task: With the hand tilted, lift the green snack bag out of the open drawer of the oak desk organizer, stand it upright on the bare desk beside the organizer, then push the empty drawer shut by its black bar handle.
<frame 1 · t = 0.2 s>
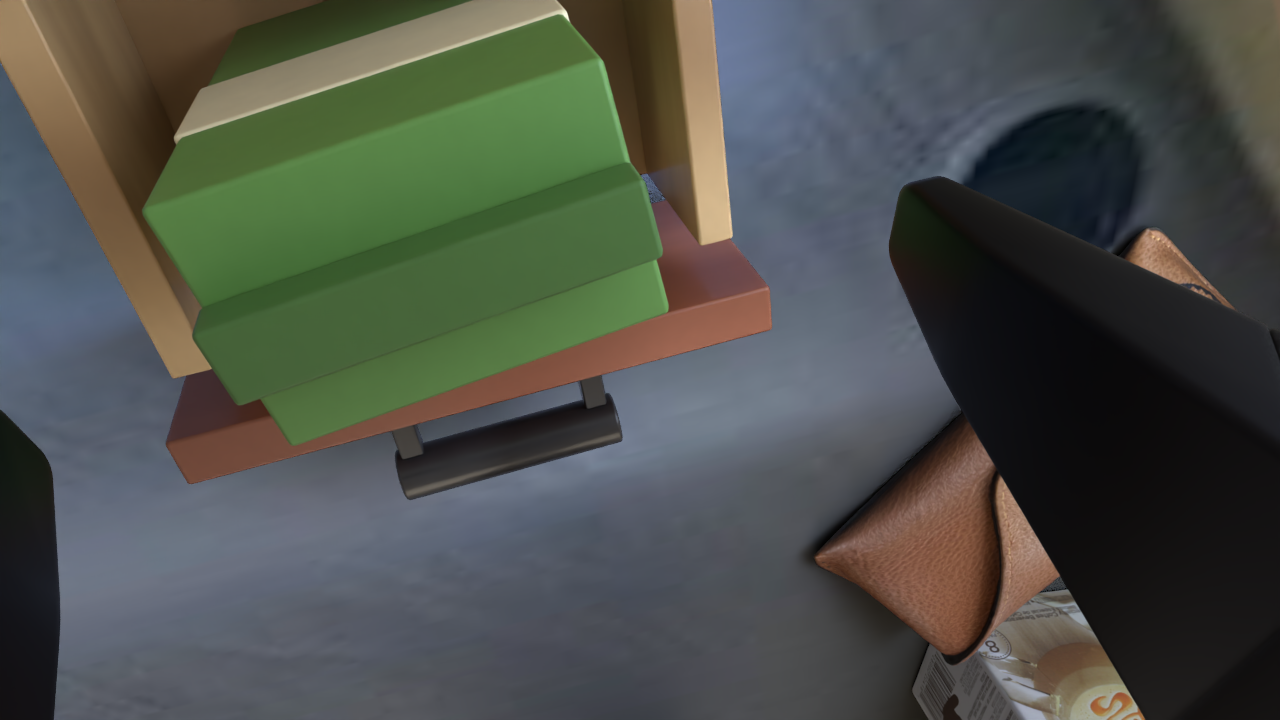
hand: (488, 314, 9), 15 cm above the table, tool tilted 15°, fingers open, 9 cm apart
sunglasses case: (1012, 437, 35), on the table
coffee box: (1002, 633, 43), on the table
drawer: (441, 207, 20), point 4 cm above the table, slide at 9.0 cm, touching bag
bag: (406, 75, 20), point 2 cm above the table, touching drawer
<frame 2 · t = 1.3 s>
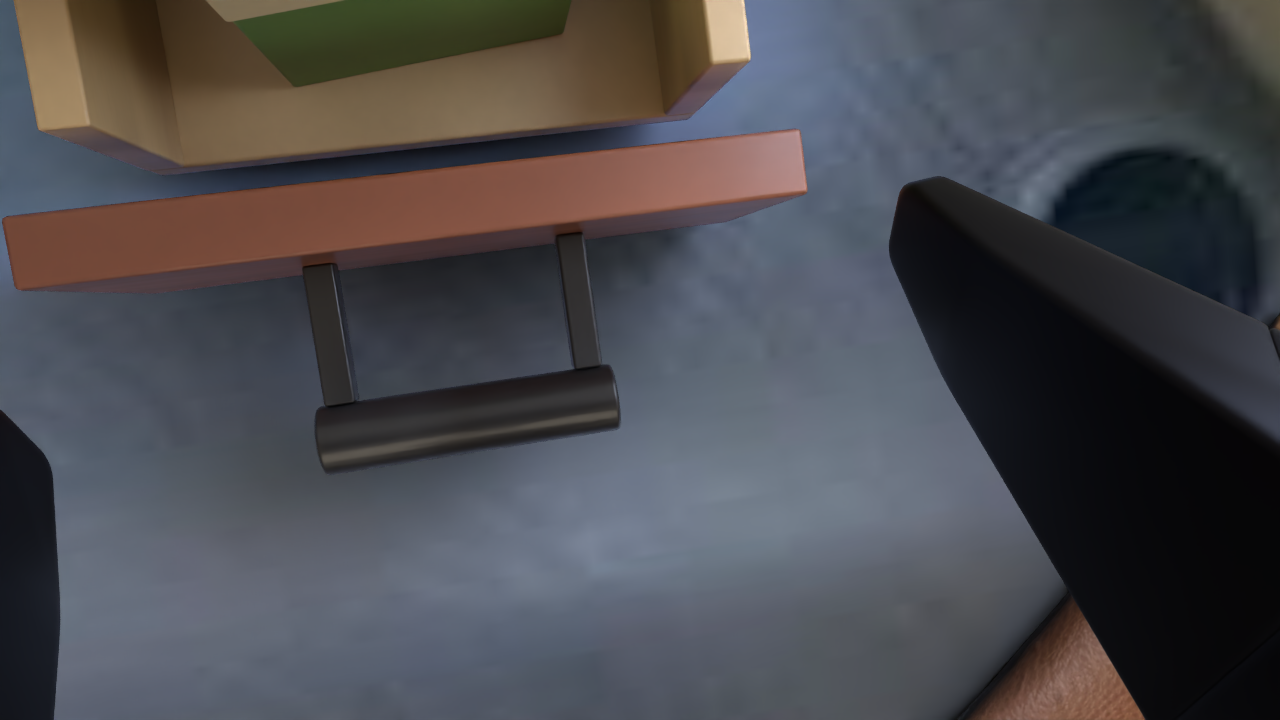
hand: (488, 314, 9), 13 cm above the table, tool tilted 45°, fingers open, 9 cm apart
sunglasses case: (1176, 617, 26), on the table
drawer: (419, 66, 18), point 4 cm above the table, slide at 9.0 cm, touching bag
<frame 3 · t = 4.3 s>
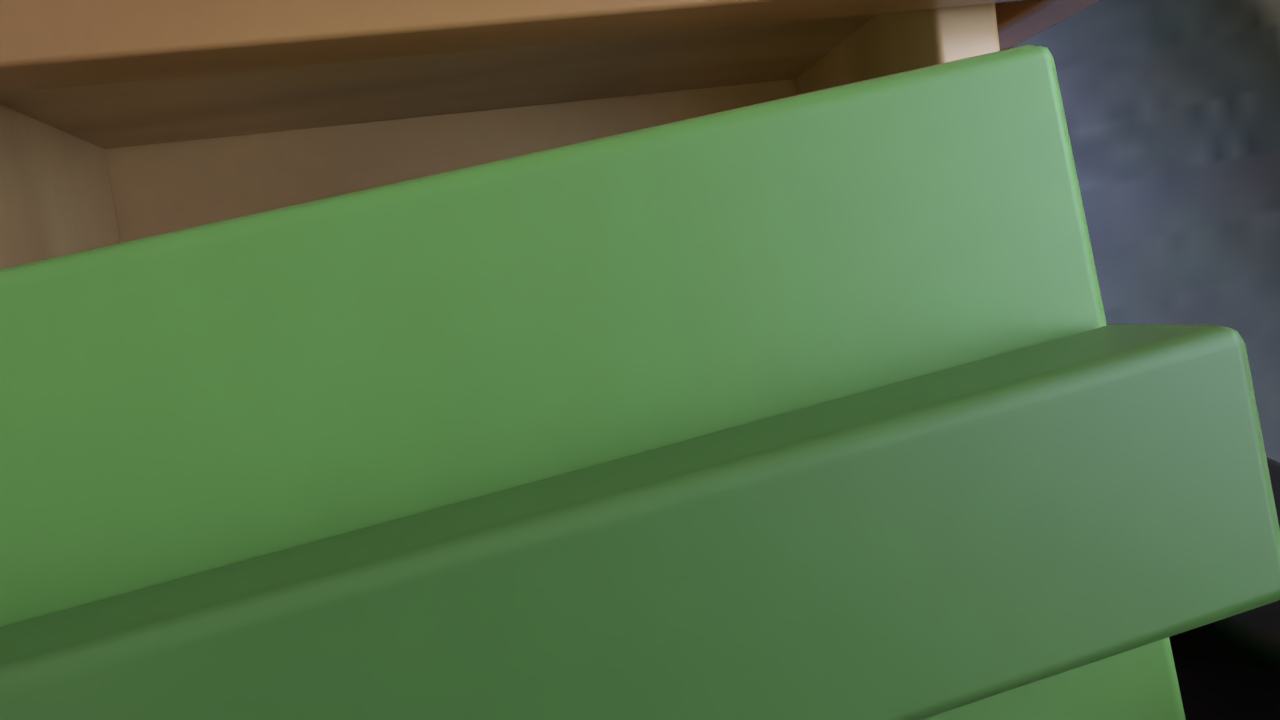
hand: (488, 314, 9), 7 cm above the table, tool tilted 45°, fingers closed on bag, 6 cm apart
drawer: (542, 598, 12), point 4 cm above the table, slide at 9.0 cm, touching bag
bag: (512, 403, 14), point 2 cm above the table, touching drawer, gripper
when the fingers open (5 cm above the table, at t = 11.5 s): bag stays where it is, on the table.
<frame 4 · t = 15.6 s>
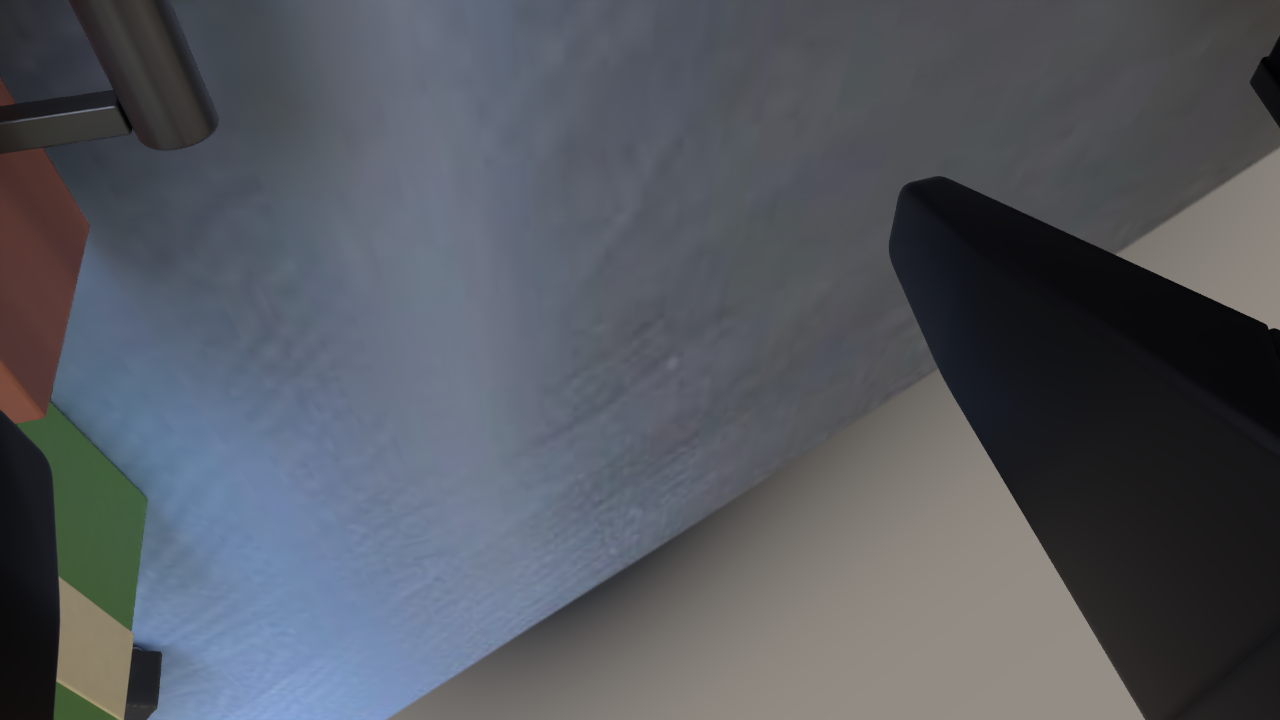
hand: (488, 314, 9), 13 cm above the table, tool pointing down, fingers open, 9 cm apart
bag: (25, 463, 26), on the table
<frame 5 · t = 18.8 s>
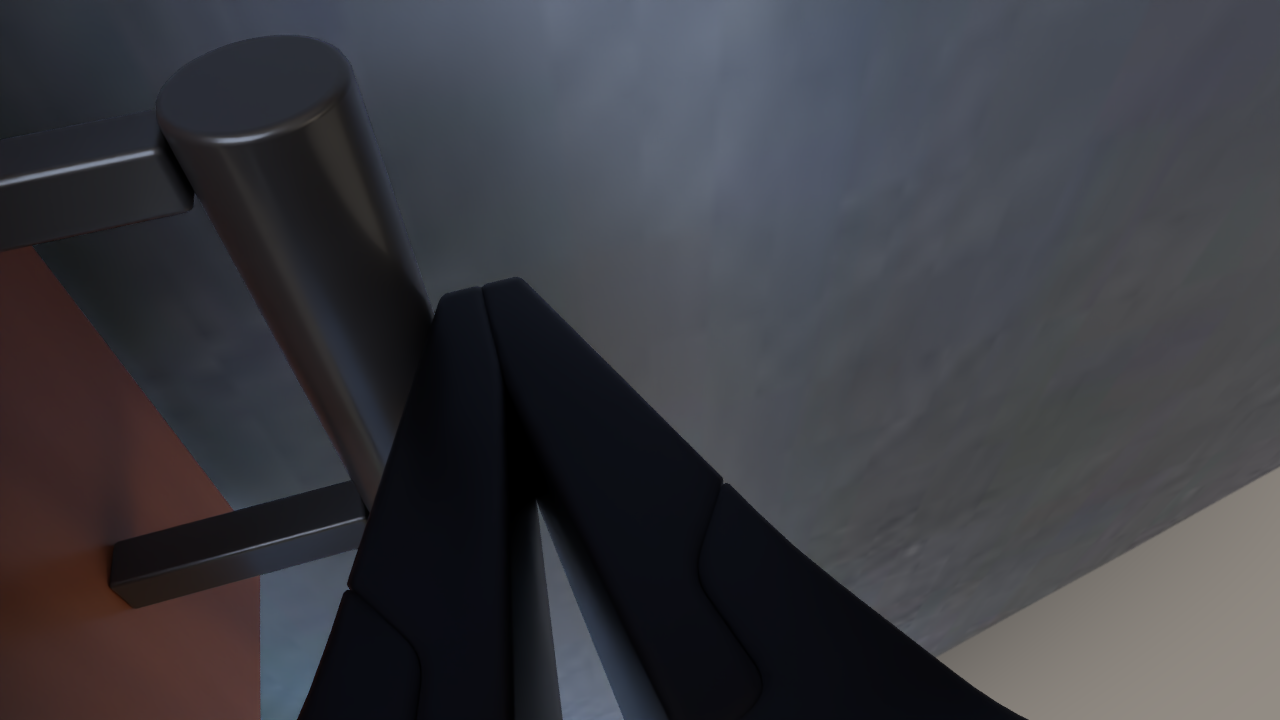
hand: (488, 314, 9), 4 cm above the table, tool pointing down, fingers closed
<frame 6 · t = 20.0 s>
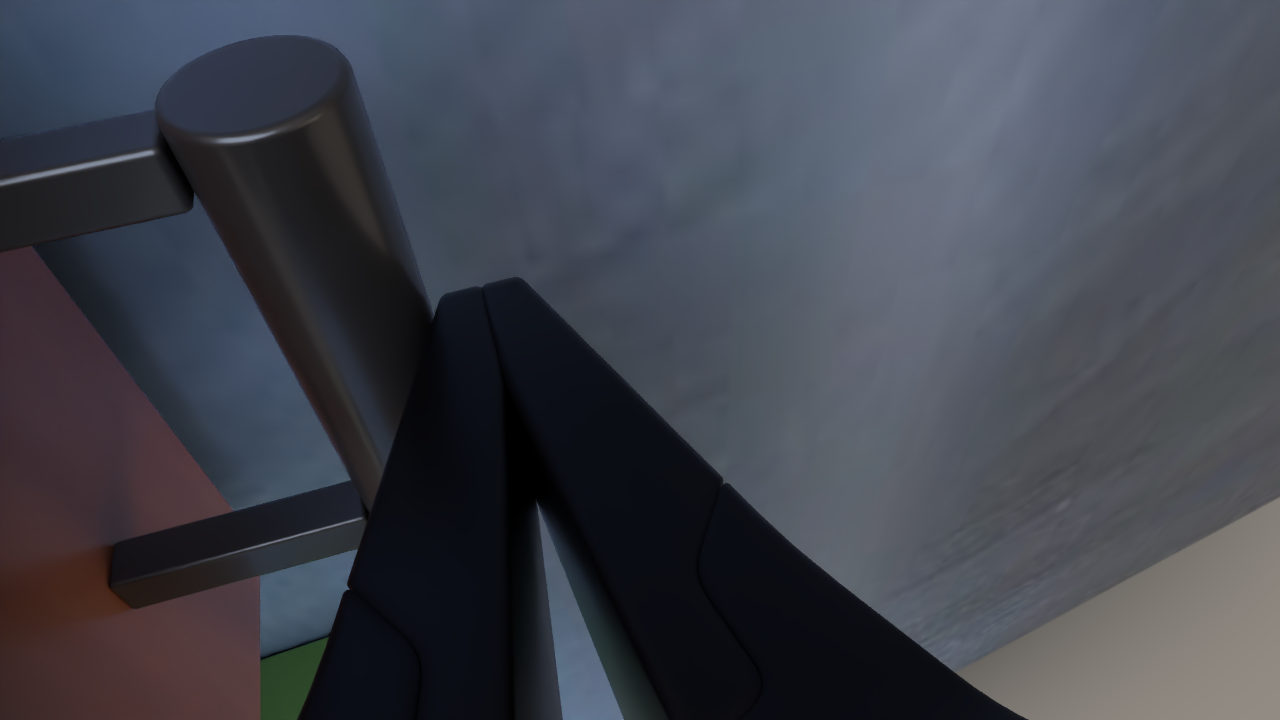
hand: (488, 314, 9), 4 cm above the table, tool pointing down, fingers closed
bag: (369, 685, 22), on the table
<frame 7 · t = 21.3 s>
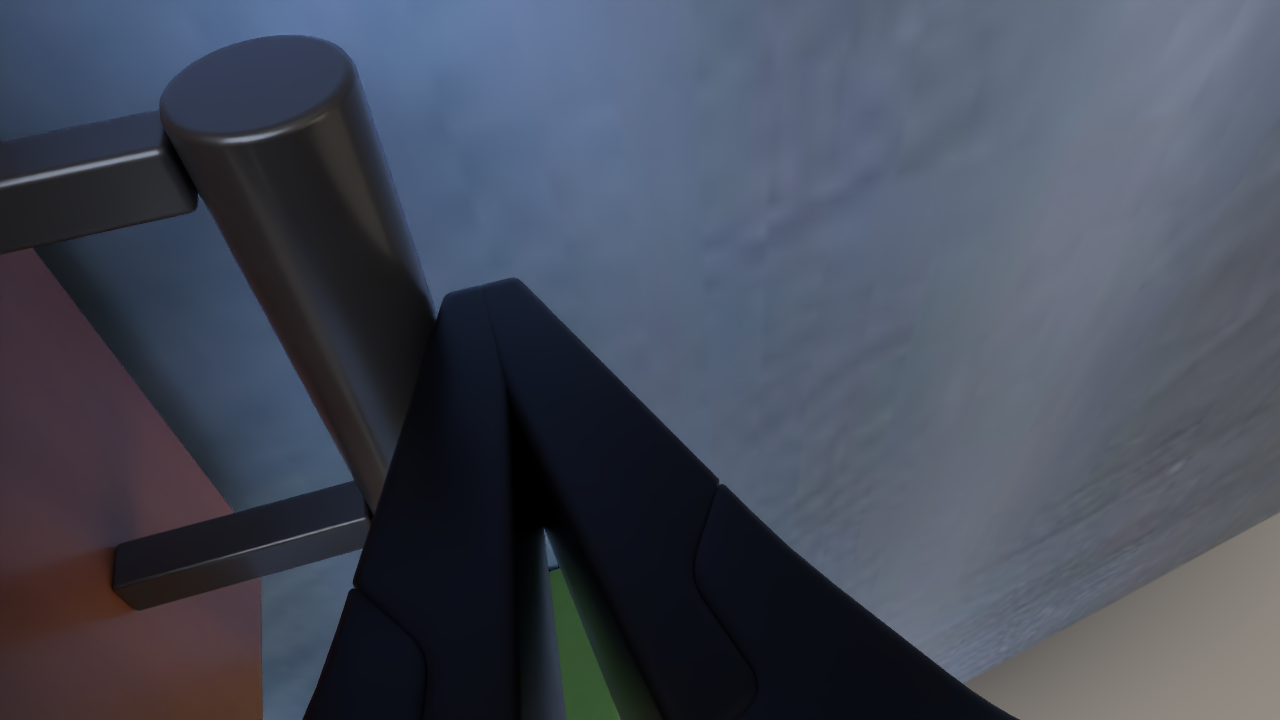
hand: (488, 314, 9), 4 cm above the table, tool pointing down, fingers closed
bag: (524, 640, 22), on the table
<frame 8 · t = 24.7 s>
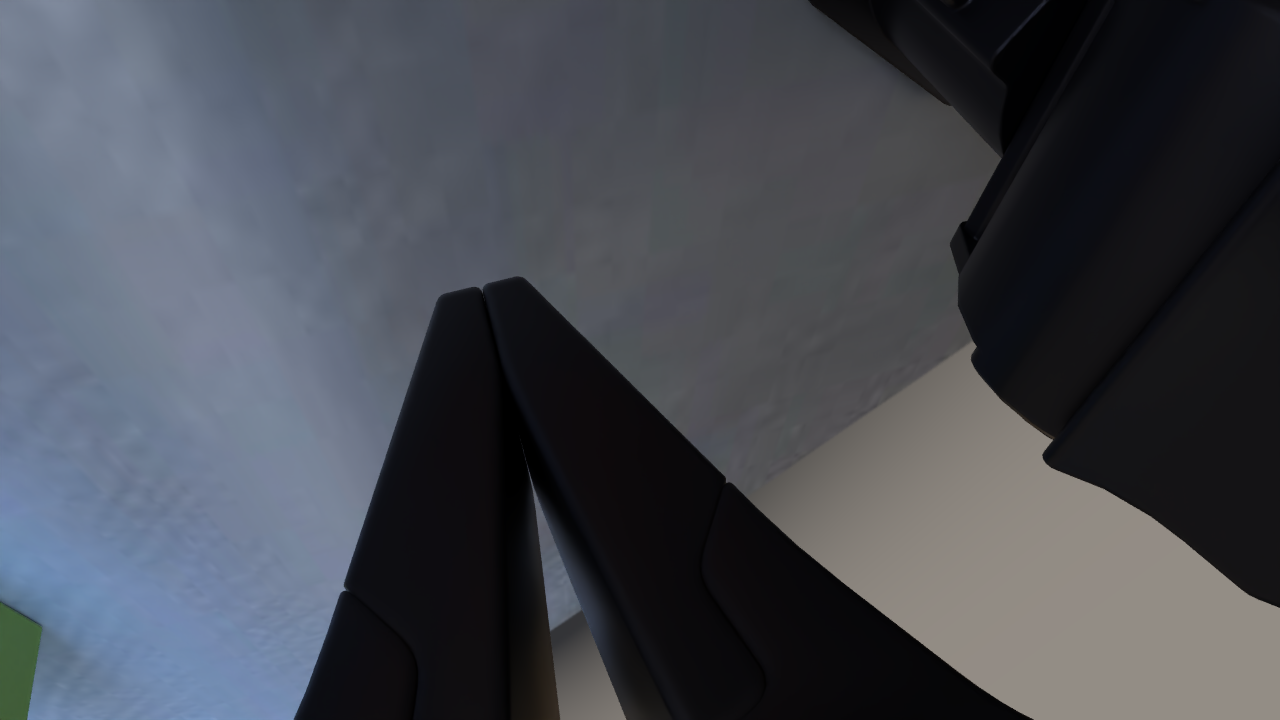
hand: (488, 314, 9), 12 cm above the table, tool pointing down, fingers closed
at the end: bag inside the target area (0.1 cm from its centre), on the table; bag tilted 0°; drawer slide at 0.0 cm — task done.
